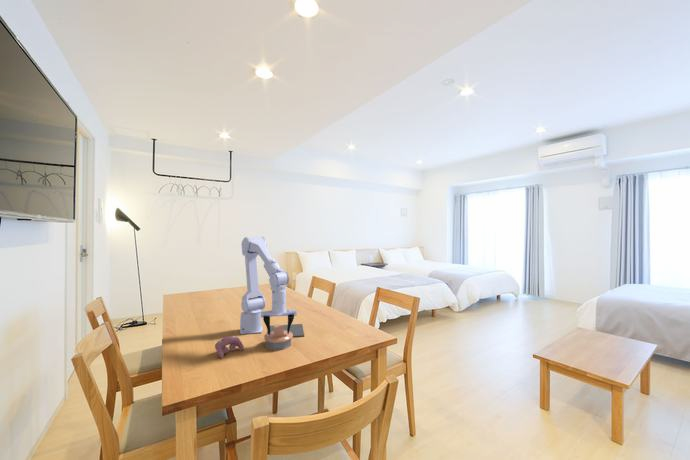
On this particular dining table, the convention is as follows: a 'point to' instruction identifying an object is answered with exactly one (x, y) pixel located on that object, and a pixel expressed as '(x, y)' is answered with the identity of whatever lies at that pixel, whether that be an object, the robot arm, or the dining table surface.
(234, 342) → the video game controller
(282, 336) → the lid
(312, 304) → the dining table surface
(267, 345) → the bowl
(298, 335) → the mat
